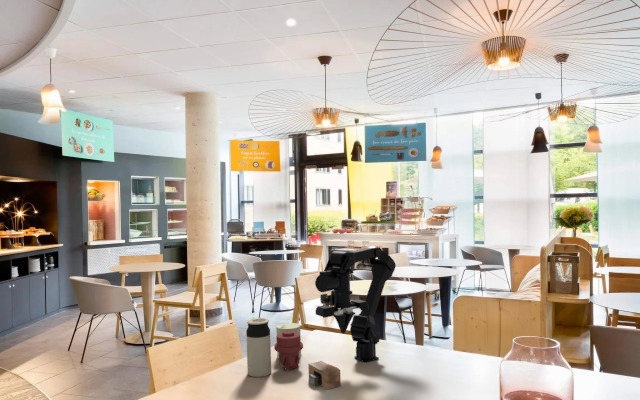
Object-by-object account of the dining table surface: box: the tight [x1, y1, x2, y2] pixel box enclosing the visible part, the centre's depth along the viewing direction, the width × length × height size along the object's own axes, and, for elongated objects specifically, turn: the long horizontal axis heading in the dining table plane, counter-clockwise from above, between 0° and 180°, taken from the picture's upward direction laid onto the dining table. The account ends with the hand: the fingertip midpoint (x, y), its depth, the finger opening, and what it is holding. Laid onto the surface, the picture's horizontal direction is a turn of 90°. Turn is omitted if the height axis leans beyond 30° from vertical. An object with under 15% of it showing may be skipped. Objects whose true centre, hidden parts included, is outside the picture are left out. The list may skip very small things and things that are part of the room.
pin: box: [308, 363, 339, 388], centre depth 158 cm, size 8×6×5 cm
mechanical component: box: [273, 331, 304, 372], centre depth 173 cm, size 12×10×10 cm
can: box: [275, 322, 302, 360], centre depth 185 cm, size 9×9×12 cm
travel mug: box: [245, 317, 272, 378], centre depth 168 cm, size 8×8×18 cm
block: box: [307, 360, 342, 390], centre depth 158 cm, size 5×11×5 cm, turn 32°
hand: (343, 333), depth 171 cm, fingers closed
